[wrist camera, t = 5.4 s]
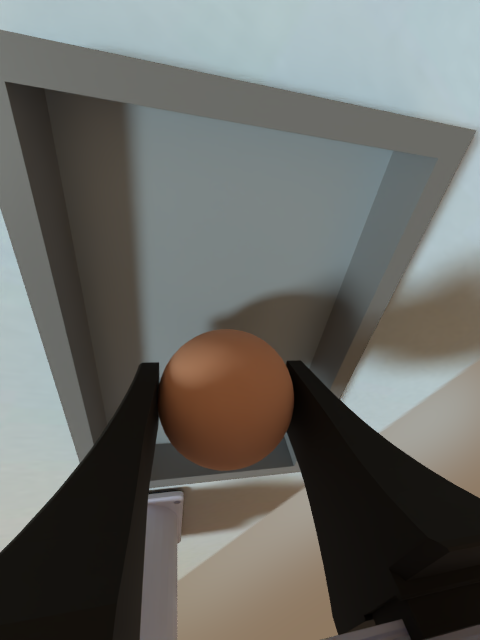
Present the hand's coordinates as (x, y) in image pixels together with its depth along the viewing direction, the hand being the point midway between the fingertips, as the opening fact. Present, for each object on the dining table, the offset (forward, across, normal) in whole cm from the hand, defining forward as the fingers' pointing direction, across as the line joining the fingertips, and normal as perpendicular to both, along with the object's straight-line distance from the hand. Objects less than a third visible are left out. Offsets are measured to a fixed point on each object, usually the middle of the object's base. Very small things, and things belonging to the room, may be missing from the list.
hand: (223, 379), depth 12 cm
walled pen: (+3, 0, 0) cm, 3 cm away
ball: (-1, 0, 0) cm, 1 cm away
